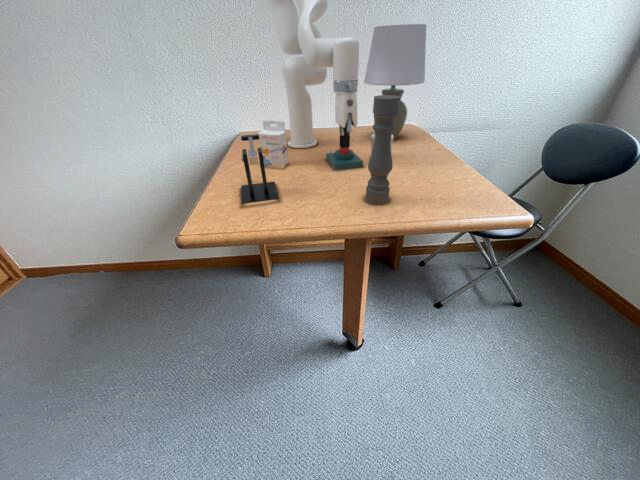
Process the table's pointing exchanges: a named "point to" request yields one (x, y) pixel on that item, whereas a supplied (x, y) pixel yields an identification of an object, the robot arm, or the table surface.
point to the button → (344, 150)
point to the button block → (344, 160)
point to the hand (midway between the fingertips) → (344, 146)
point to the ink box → (274, 143)
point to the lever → (251, 147)
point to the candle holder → (382, 148)
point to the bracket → (259, 190)
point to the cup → (374, 140)
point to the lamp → (397, 62)
